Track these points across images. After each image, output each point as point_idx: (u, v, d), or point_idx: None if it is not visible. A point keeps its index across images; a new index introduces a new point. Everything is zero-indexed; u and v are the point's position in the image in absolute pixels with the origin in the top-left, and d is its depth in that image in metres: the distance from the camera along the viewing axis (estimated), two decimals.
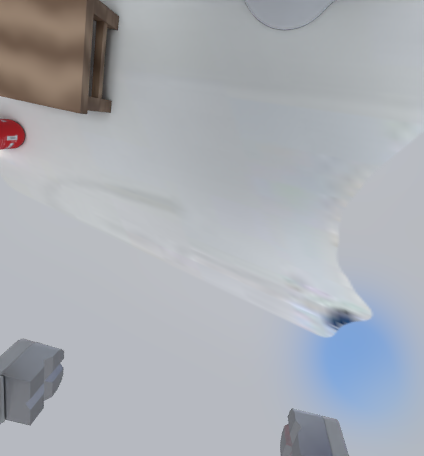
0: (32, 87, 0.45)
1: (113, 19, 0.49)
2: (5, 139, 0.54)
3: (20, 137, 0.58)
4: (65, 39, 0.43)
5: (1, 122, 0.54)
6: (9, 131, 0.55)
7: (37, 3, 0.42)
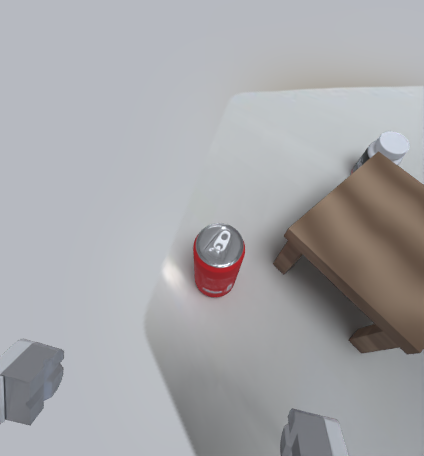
0: (367, 275, 0.31)
1: None
2: (229, 284, 0.36)
3: (228, 291, 0.39)
4: None
5: None
6: (235, 279, 0.37)
7: None
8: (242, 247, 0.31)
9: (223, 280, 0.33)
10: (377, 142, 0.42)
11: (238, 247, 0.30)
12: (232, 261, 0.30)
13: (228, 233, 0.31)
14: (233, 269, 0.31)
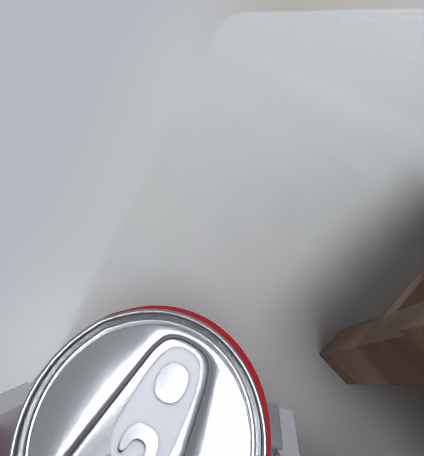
0: None
1: None
2: None
3: None
4: None
5: None
6: None
7: None
8: (261, 450, 0.06)
9: None
10: None
11: (240, 455, 0.06)
12: None
13: (191, 363, 0.06)
14: None
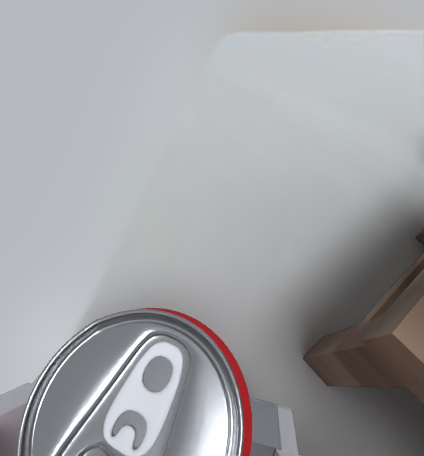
0: None
1: None
2: None
3: None
4: None
5: None
6: None
7: None
8: (238, 429, 0.06)
9: None
10: None
11: (219, 433, 0.06)
12: None
13: (175, 356, 0.07)
14: None
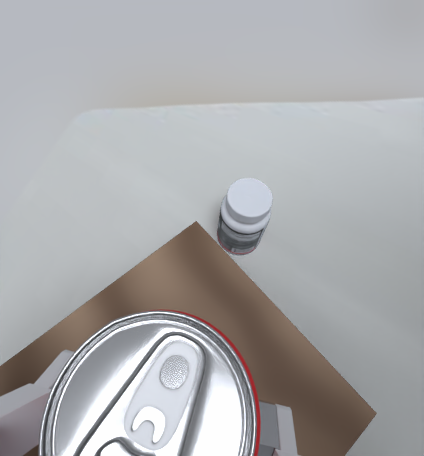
0: None
1: None
2: None
3: None
4: None
5: None
6: None
7: (251, 355, 0.19)
8: (251, 423, 0.07)
9: None
10: (226, 195, 0.28)
11: (234, 427, 0.07)
12: None
13: (190, 355, 0.08)
14: None
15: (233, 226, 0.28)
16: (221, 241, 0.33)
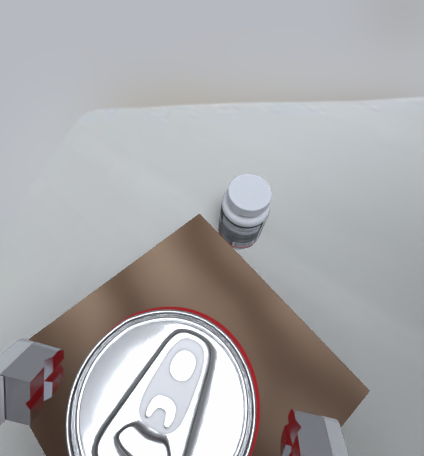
0: None
1: None
2: None
3: None
4: (259, 440, 0.18)
5: None
6: None
7: (252, 338, 0.20)
8: (252, 411, 0.08)
9: None
10: (227, 190, 0.29)
11: (236, 415, 0.08)
12: None
13: (197, 350, 0.08)
14: None
15: (234, 219, 0.29)
16: (222, 235, 0.34)
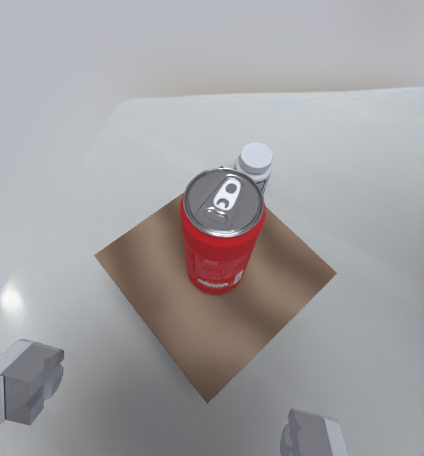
0: (169, 310, 0.27)
1: None
2: (239, 271, 0.23)
3: (236, 284, 0.26)
4: (264, 299, 0.28)
5: None
6: None
7: (260, 242, 0.30)
8: (262, 204, 0.18)
9: (230, 263, 0.20)
10: (240, 154, 0.39)
11: (255, 204, 0.18)
12: (246, 226, 0.18)
13: (237, 183, 0.19)
14: (248, 241, 0.18)
15: None
16: None
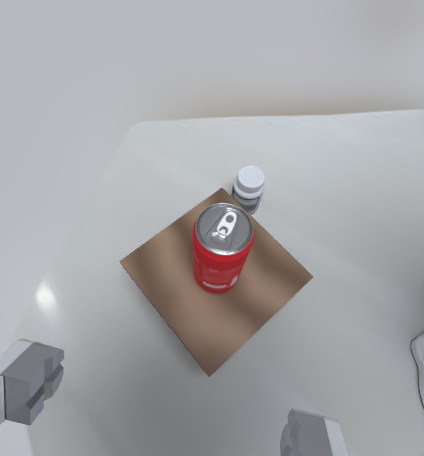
0: (180, 305, 0.34)
1: None
2: (235, 277, 0.30)
3: (232, 286, 0.34)
4: (255, 297, 0.35)
5: None
6: None
7: (252, 251, 0.37)
8: (251, 231, 0.25)
9: (228, 271, 0.28)
10: (237, 176, 0.46)
11: (247, 231, 0.25)
12: (240, 247, 0.25)
13: (234, 214, 0.26)
14: (241, 257, 0.25)
15: (241, 194, 0.47)
16: None
